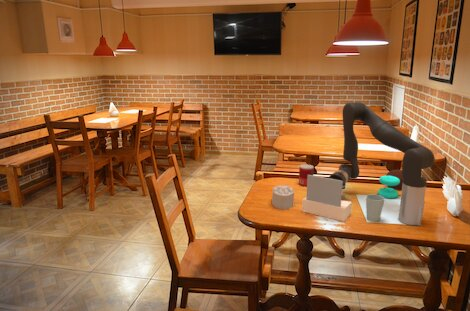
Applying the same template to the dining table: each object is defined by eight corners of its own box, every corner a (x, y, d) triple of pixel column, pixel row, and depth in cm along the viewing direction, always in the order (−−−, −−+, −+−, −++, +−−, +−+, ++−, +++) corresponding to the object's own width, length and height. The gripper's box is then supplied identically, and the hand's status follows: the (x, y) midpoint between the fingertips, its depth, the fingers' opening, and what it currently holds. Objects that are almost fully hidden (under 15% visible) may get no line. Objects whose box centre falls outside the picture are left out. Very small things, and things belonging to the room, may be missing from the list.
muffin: (381, 187, 207) (383, 170, 204) (389, 182, 215) (390, 166, 212) (403, 192, 199) (405, 175, 196) (410, 187, 207) (412, 170, 204)
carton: (350, 214, 171) (351, 201, 169) (343, 221, 163) (345, 208, 161) (309, 204, 181) (310, 193, 180) (302, 211, 174) (302, 199, 172)
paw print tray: (292, 200, 188) (293, 183, 186) (294, 210, 175) (294, 192, 173) (272, 199, 189) (272, 183, 187) (272, 209, 176) (272, 192, 174)
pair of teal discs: (379, 174, 198) (399, 175, 195) (377, 191, 201) (397, 193, 197) (380, 179, 189) (401, 181, 186) (378, 197, 191) (398, 200, 188)
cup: (385, 222, 162) (387, 200, 160) (368, 222, 162) (370, 200, 159) (377, 215, 169) (379, 194, 167) (361, 215, 169) (363, 194, 166)
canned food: (312, 187, 207) (313, 168, 204) (298, 186, 208) (299, 167, 205) (312, 183, 214) (313, 164, 211) (298, 182, 215) (299, 164, 213)
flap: (340, 206, 162) (342, 180, 159) (340, 207, 162) (342, 181, 159) (306, 199, 171) (308, 174, 168) (306, 199, 171) (307, 174, 168)
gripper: (325, 169, 184) (312, 178, 170) (352, 174, 176) (340, 183, 162) (325, 183, 185) (311, 193, 172) (351, 188, 178) (339, 199, 164)
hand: (325, 189), depth 167 cm, fingers closed
